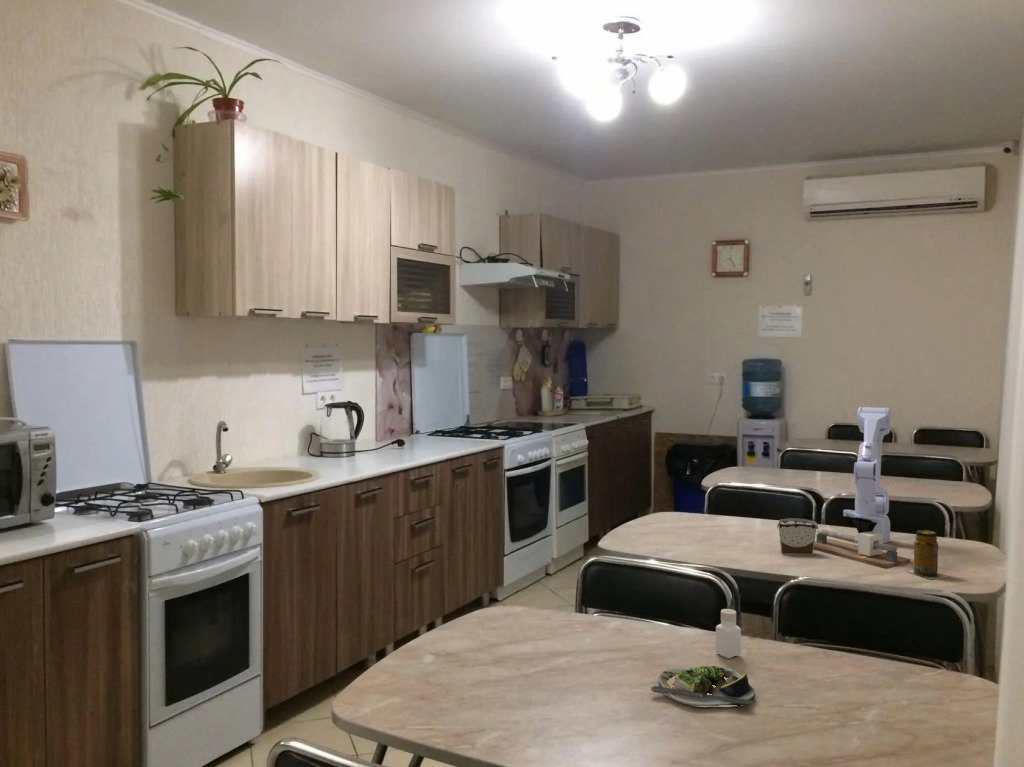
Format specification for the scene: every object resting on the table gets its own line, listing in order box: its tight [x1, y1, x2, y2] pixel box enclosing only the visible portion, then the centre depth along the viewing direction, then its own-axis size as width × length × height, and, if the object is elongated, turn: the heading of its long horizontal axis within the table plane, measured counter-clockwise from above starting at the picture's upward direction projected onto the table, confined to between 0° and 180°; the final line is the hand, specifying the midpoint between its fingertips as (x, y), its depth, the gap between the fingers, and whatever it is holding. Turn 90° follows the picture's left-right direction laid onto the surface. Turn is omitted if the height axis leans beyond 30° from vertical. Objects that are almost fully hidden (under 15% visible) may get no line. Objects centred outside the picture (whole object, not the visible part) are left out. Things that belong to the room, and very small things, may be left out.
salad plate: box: [650, 664, 756, 707], centre depth 156 cm, size 19×18×5 cm
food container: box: [776, 518, 819, 556], centre depth 257 cm, size 12×6×10 cm, turn 83°
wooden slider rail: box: [813, 527, 911, 569], centre depth 254 cm, size 12×29×6 cm, turn 30°
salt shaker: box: [715, 608, 742, 659], centre depth 174 cm, size 4×4×10 cm
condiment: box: [906, 529, 950, 580], centre depth 232 cm, size 7×8×12 cm
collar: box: [857, 531, 884, 556], centre depth 249 cm, size 6×4×6 cm, turn 120°
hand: (864, 543), depth 254 cm, fingers closed
